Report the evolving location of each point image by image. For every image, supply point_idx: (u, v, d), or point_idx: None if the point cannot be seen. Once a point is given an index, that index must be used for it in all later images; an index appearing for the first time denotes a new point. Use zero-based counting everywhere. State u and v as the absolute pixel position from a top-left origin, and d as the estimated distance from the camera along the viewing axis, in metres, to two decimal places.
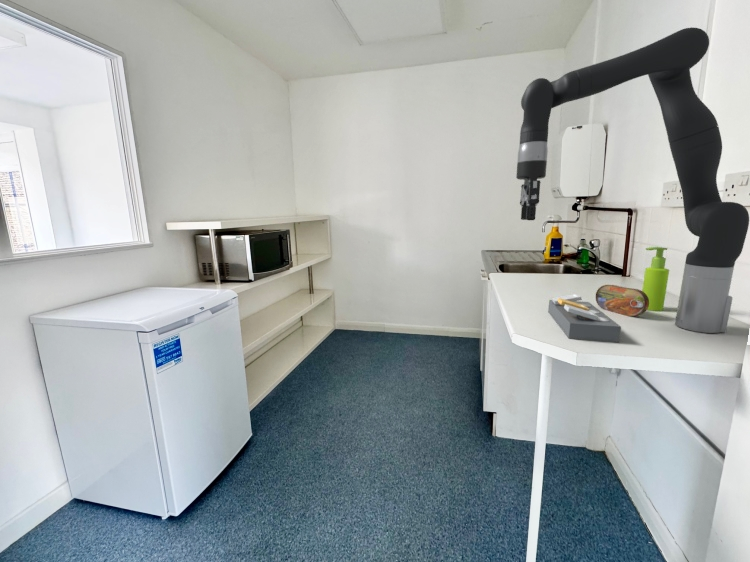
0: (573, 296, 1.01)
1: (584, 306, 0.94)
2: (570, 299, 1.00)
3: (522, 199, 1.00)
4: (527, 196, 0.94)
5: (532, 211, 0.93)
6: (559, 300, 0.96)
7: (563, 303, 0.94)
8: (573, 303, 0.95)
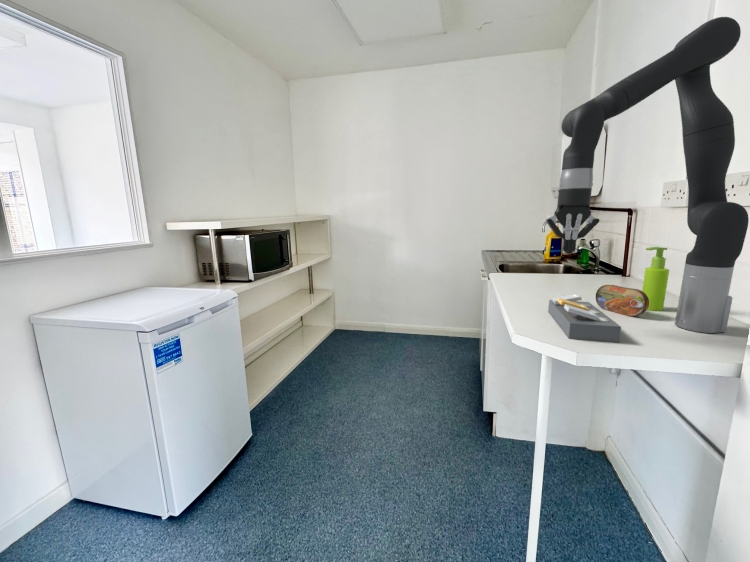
0: (573, 296, 1.01)
1: (584, 306, 0.94)
2: (570, 299, 1.00)
3: None
4: None
5: None
6: (559, 300, 0.96)
7: (563, 303, 0.94)
8: (573, 303, 0.95)
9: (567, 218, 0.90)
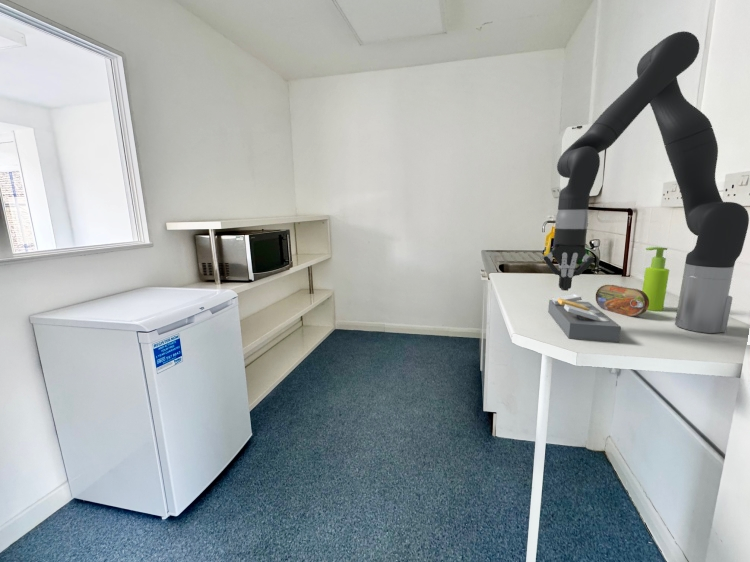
0: (573, 296, 1.01)
1: (584, 306, 0.94)
2: (570, 299, 1.00)
3: None
4: None
5: None
6: (559, 300, 0.96)
7: (563, 303, 0.94)
8: (573, 303, 0.95)
9: (563, 257, 0.92)
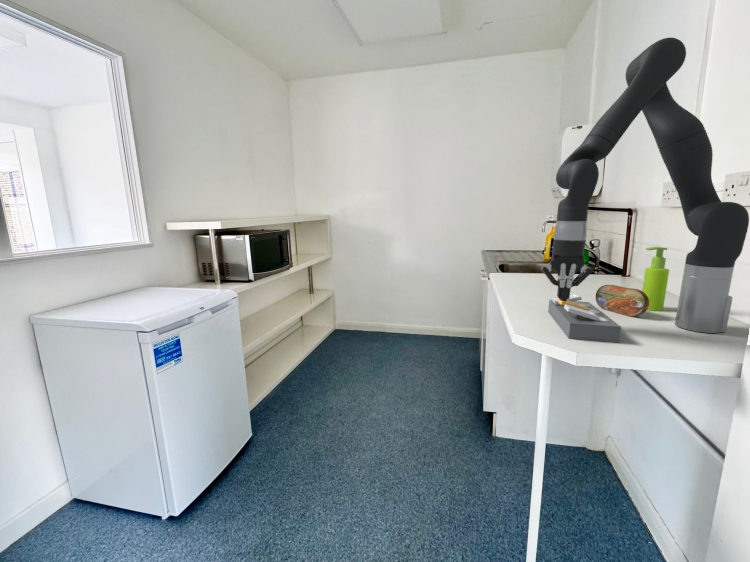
0: (573, 296, 1.01)
1: (584, 306, 0.94)
2: (570, 299, 1.00)
3: None
4: None
5: None
6: (559, 300, 0.96)
7: (563, 303, 0.94)
8: (573, 303, 0.95)
9: (561, 267, 0.92)
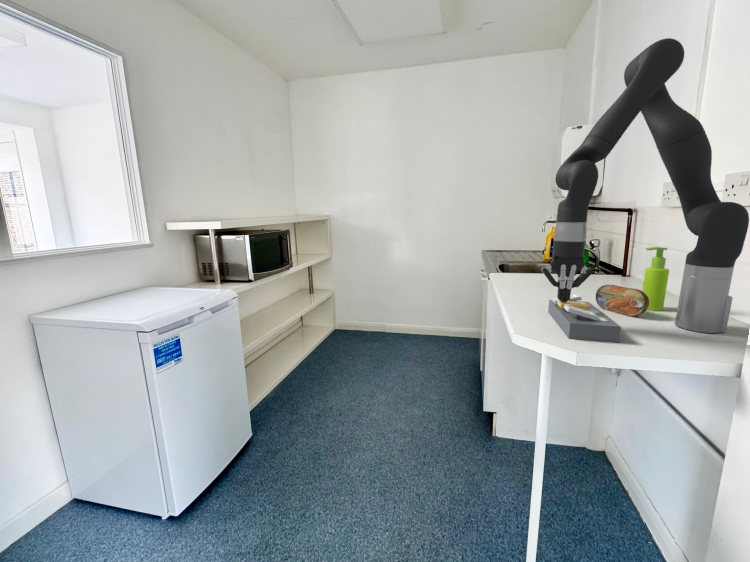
0: (573, 296, 1.01)
1: (584, 304, 0.94)
2: (570, 299, 1.00)
3: None
4: None
5: None
6: (558, 303, 0.97)
7: (562, 305, 0.94)
8: (573, 303, 0.95)
9: (562, 269, 0.92)
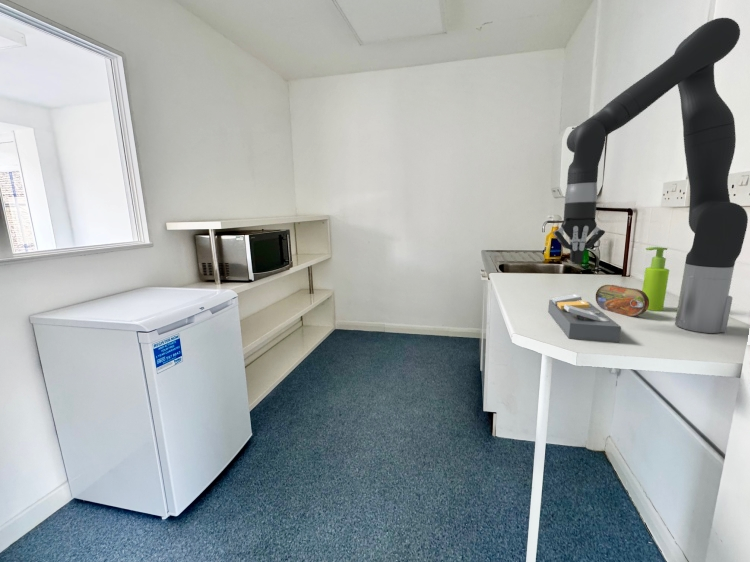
0: (573, 296, 1.01)
1: (584, 302, 0.94)
2: (570, 299, 1.00)
3: None
4: None
5: None
6: (558, 305, 0.97)
7: (562, 307, 0.94)
8: (572, 303, 0.95)
9: (574, 230, 0.94)
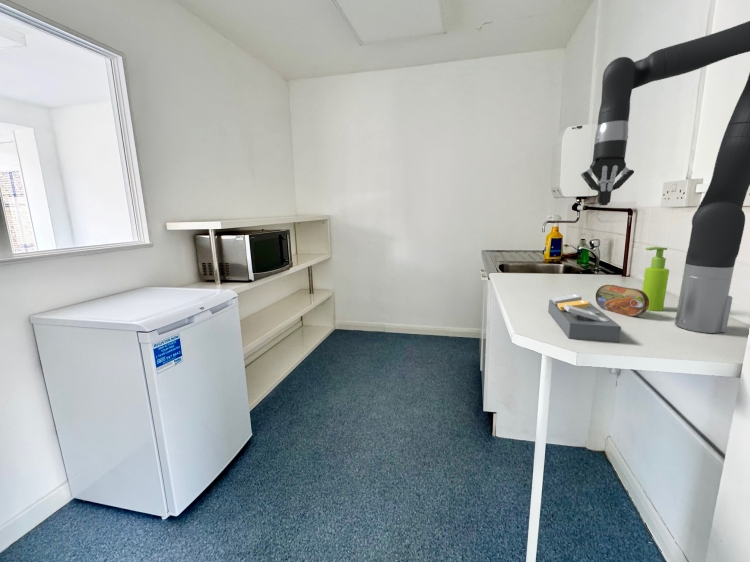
0: (573, 296, 1.01)
1: (584, 301, 0.94)
2: (570, 299, 1.00)
3: None
4: None
5: None
6: (558, 306, 0.97)
7: (562, 308, 0.94)
8: (572, 303, 0.95)
9: (603, 170, 0.95)
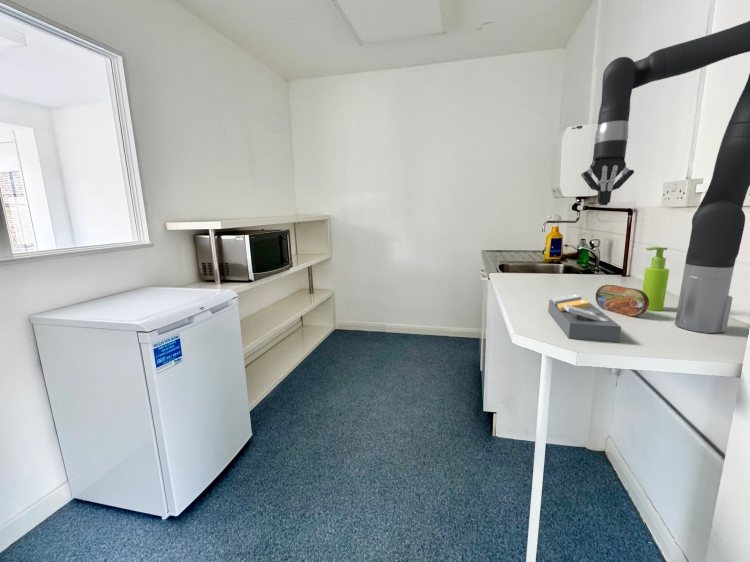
0: (573, 296, 1.01)
1: (583, 301, 0.94)
2: (570, 299, 1.00)
3: None
4: None
5: None
6: (558, 306, 0.97)
7: (562, 308, 0.94)
8: (572, 303, 0.95)
9: (603, 170, 0.95)
